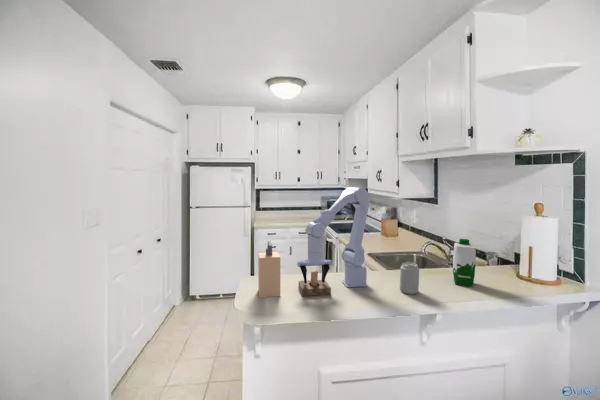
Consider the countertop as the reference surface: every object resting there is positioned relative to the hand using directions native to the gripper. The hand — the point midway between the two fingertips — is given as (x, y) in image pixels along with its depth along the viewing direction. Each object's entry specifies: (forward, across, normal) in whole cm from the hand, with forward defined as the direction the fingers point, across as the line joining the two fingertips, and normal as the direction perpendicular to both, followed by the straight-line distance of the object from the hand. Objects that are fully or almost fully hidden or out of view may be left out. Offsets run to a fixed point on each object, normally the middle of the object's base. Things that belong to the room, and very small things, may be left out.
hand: (314, 282), depth 127 cm
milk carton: (+4, -70, 0) cm, 70 cm away
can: (+4, -40, +6) cm, 41 cm away
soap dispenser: (+4, +19, +1) cm, 19 cm away
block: (+4, 0, 0) cm, 4 cm away
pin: (+3, 0, 0) cm, 3 cm away
